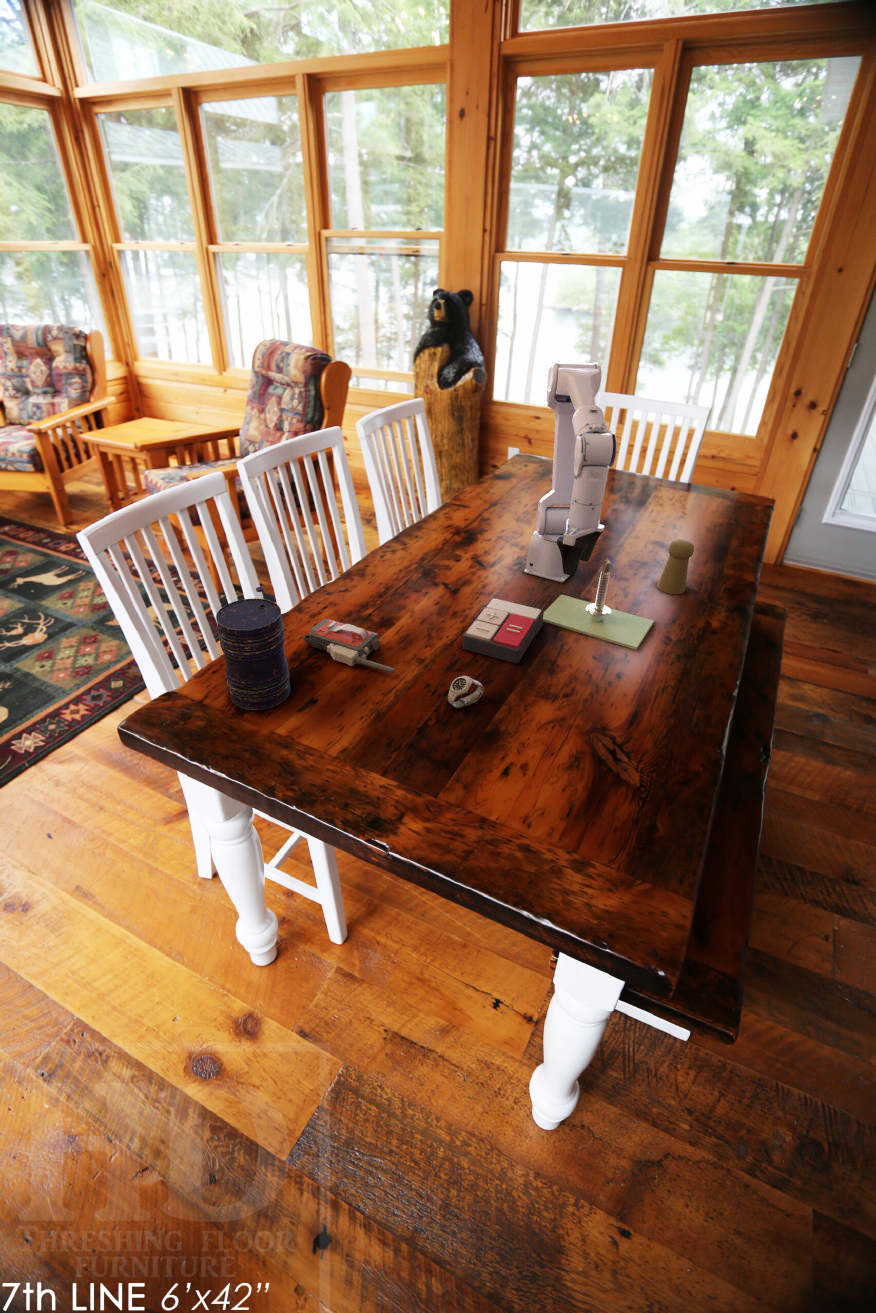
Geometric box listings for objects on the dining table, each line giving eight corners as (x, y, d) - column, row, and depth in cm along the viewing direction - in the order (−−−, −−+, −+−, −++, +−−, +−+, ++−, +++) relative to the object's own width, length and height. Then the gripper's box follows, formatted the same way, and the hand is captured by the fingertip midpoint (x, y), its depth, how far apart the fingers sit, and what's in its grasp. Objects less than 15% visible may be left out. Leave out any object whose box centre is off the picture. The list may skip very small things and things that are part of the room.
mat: (538, 620, 129) (538, 617, 129) (560, 596, 138) (561, 594, 138) (636, 650, 121) (636, 647, 121) (653, 623, 130) (654, 620, 129)
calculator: (462, 632, 117) (491, 594, 128) (461, 651, 120) (490, 612, 131) (519, 647, 114) (544, 607, 125) (517, 667, 116) (542, 625, 127)
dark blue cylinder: (260, 718, 101) (244, 618, 91) (216, 696, 105) (197, 599, 95) (303, 687, 108) (293, 592, 98) (260, 668, 112) (247, 575, 102)
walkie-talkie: (296, 650, 117) (391, 681, 110) (293, 629, 115) (391, 659, 108) (324, 628, 124) (415, 656, 117) (322, 608, 122) (415, 635, 114)
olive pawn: (686, 595, 140) (699, 548, 134) (658, 592, 141) (669, 545, 135) (683, 583, 145) (695, 537, 139) (656, 580, 146) (667, 534, 140)
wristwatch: (444, 702, 106) (445, 677, 103) (476, 692, 108) (477, 668, 105) (454, 714, 103) (456, 689, 100) (487, 703, 106) (489, 679, 103)
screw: (604, 627, 126) (581, 620, 128) (612, 617, 130) (589, 610, 132) (616, 567, 119) (591, 560, 121) (624, 558, 123) (600, 552, 125)
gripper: (594, 516, 112) (582, 586, 119) (620, 493, 122) (607, 559, 130) (556, 508, 115) (547, 576, 122) (585, 486, 125) (574, 550, 133)
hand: (576, 567), depth 126 cm, fingers open, 7 cm apart
